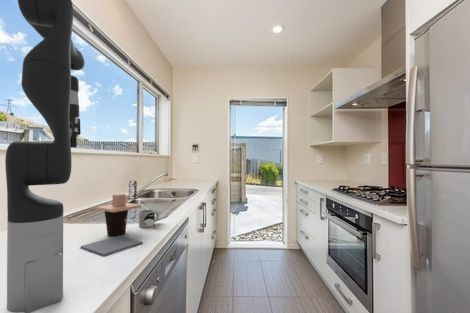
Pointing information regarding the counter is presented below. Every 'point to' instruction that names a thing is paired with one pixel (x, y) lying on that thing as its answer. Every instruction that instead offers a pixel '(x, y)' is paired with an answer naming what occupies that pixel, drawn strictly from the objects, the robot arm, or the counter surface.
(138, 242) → the mat
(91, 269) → the counter surface
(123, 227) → the coffee mug
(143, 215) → the mug
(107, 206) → the lid
